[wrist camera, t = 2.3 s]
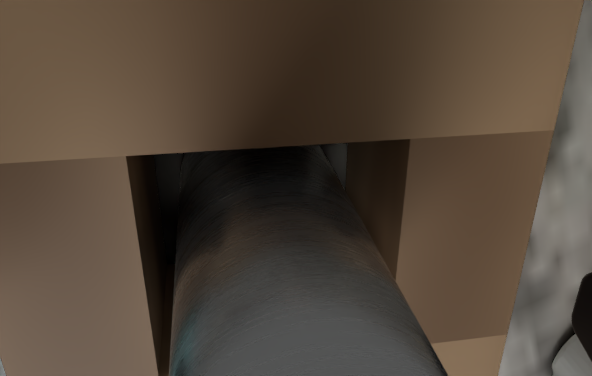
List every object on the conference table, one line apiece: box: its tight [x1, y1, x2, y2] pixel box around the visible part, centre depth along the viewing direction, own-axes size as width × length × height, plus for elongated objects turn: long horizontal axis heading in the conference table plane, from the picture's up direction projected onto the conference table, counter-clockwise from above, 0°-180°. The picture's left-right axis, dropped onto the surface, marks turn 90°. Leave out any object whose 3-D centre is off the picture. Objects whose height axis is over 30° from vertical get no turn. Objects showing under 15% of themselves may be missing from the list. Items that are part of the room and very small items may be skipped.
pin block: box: [0, 0, 584, 376], centre depth 10 cm, size 9×9×4 cm
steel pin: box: [169, 144, 448, 376], centre depth 8 cm, size 3×3×9 cm
